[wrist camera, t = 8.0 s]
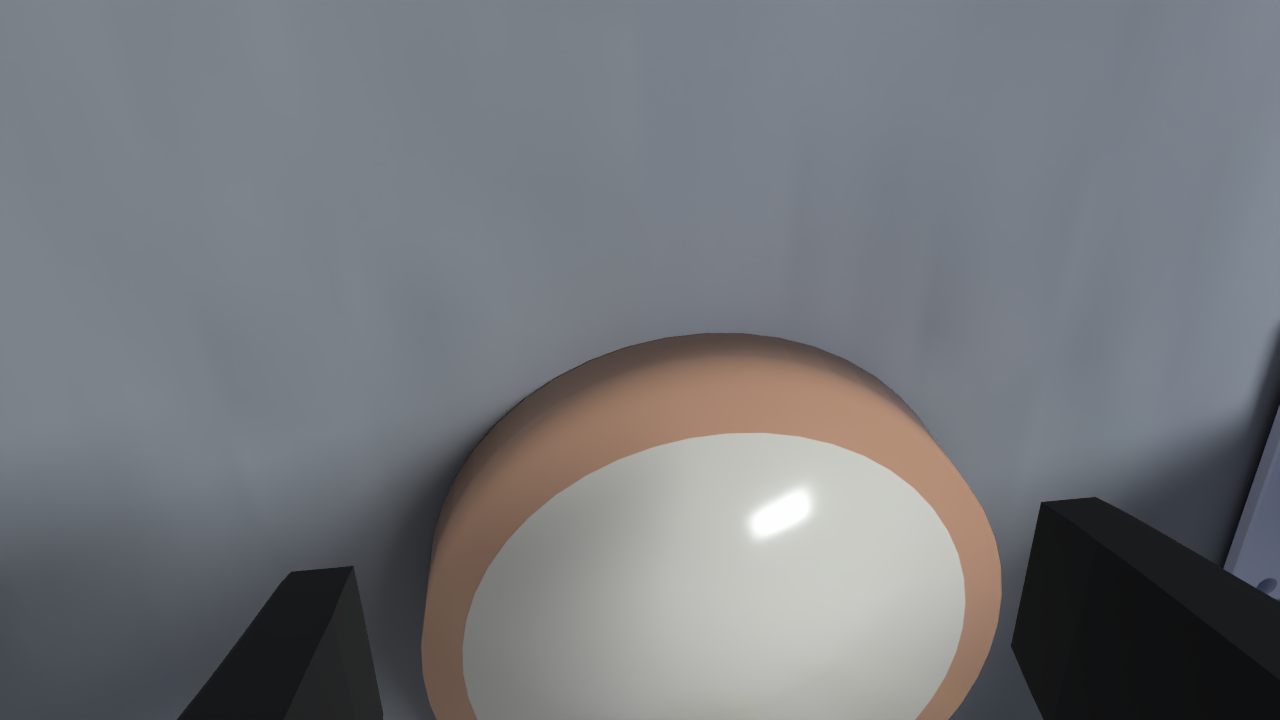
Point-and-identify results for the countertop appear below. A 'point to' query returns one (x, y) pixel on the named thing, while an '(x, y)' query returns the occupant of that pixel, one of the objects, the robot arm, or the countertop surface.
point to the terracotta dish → (709, 548)
